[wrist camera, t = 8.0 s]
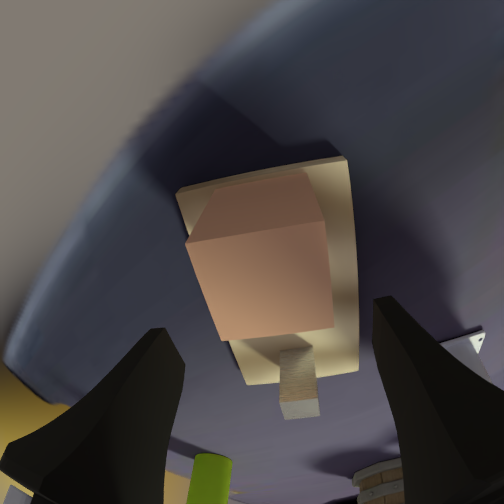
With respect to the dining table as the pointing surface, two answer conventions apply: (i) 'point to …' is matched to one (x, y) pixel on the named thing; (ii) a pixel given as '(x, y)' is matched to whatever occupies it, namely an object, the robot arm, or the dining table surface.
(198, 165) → the dining table surface
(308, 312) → the tan cardboard box
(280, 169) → the birch board
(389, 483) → the tankard
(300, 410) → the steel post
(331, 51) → the dining table surface
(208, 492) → the soap dispenser
